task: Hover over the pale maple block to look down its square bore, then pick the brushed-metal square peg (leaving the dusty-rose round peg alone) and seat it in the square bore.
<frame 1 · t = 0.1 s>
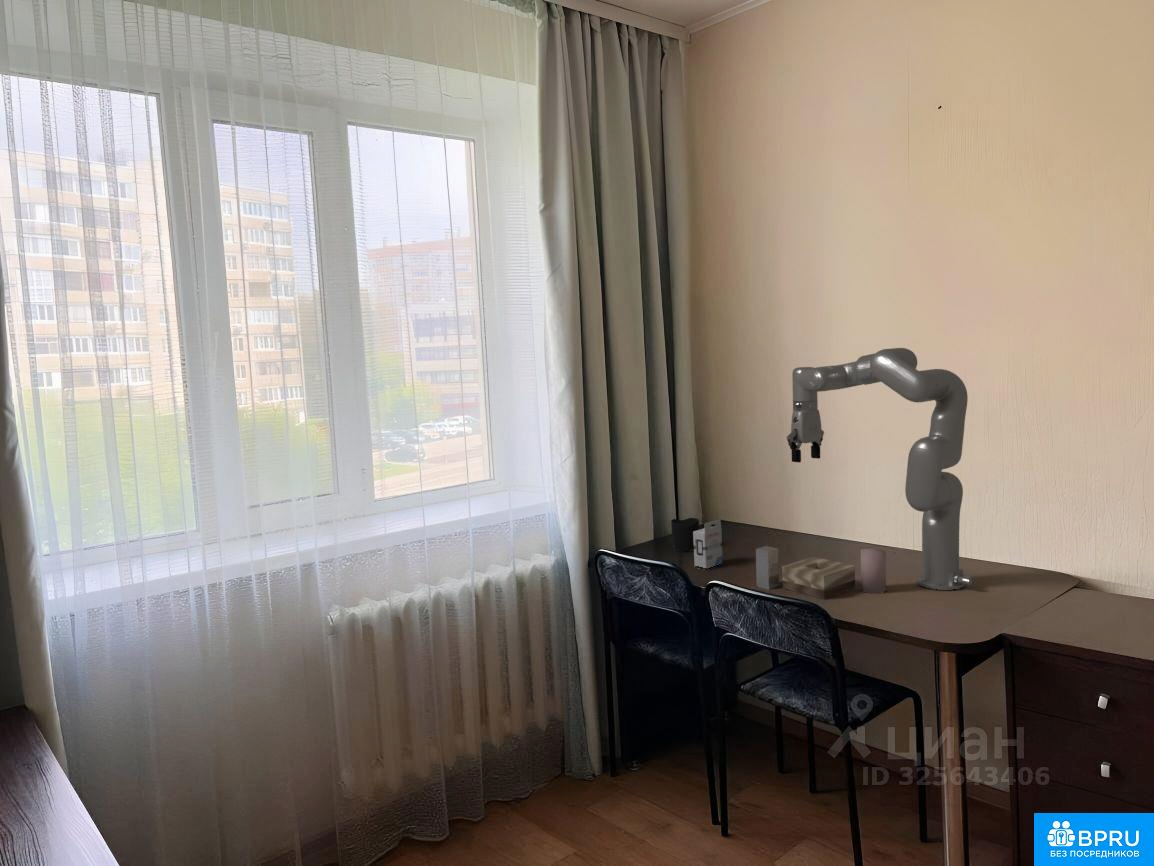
hand: (806, 460, 268), 31 cm above the table, tool pointing down, fingers open, 9 cm apart
bore block: (818, 588, 238), on the table
pen holder: (685, 549, 288), on the table
ink box: (708, 566, 266), on the table
round peg: (873, 590, 234), on the table
square peg: (767, 586, 242), on the table
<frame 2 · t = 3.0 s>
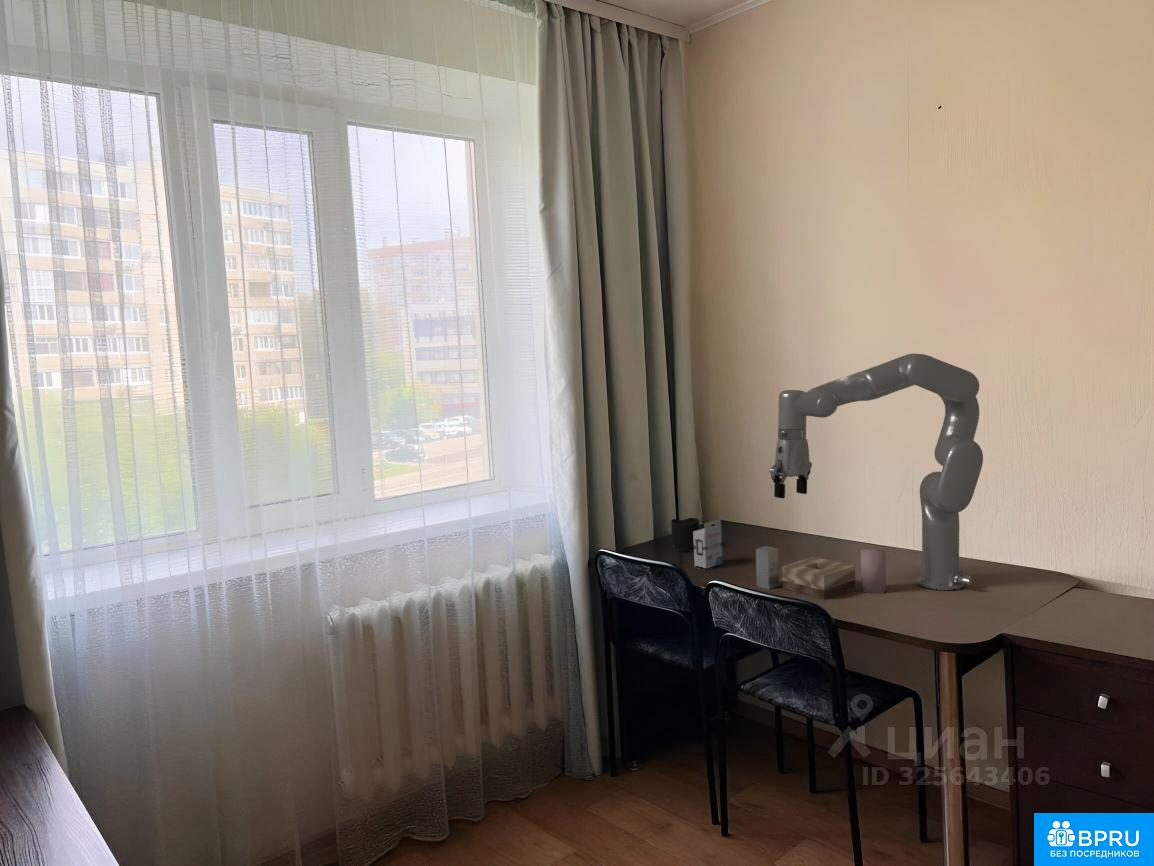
hand: (790, 495, 237), 27 cm above the table, tool pointing down, fingers open, 9 cm apart
nothing on the table moved.
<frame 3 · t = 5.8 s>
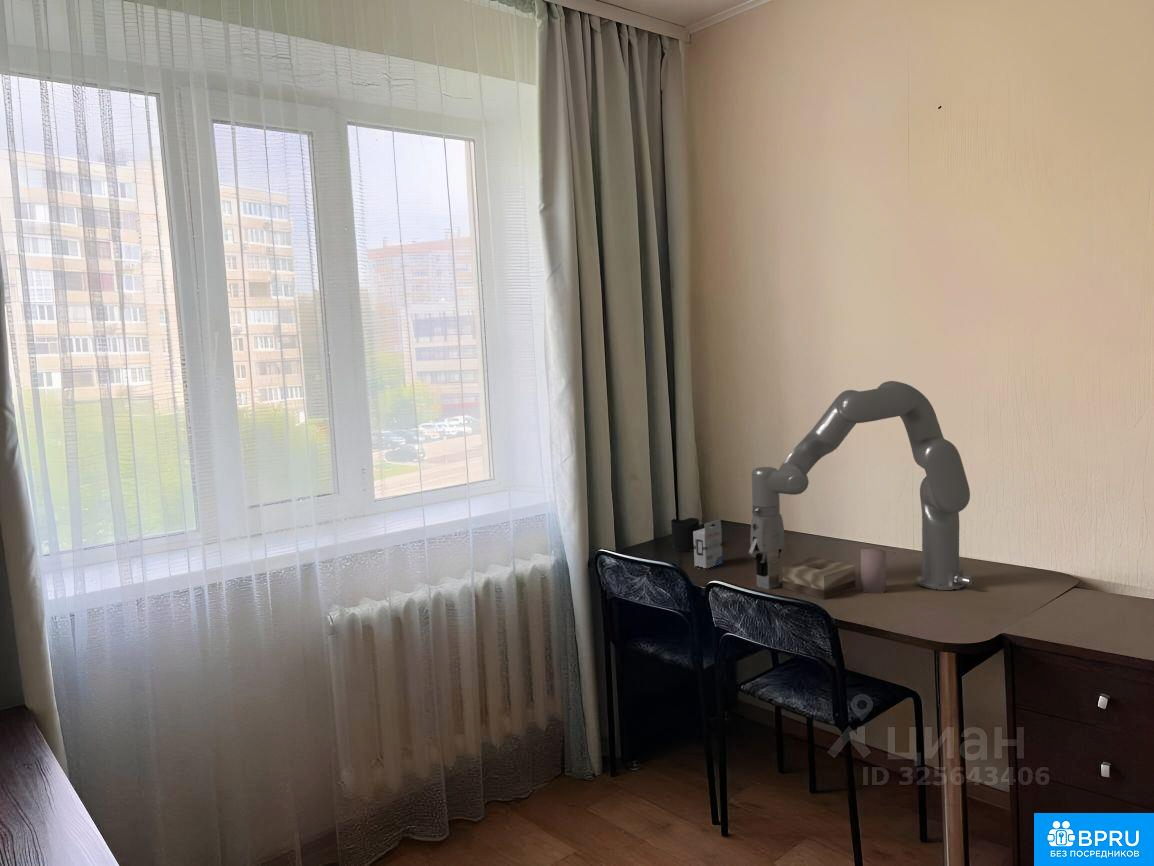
hand: (767, 573, 242), 4 cm above the table, tool pointing down, fingers closed on square peg, 4 cm apart
square peg: (767, 586, 242), on the table, touching gripper
everything else where it was.
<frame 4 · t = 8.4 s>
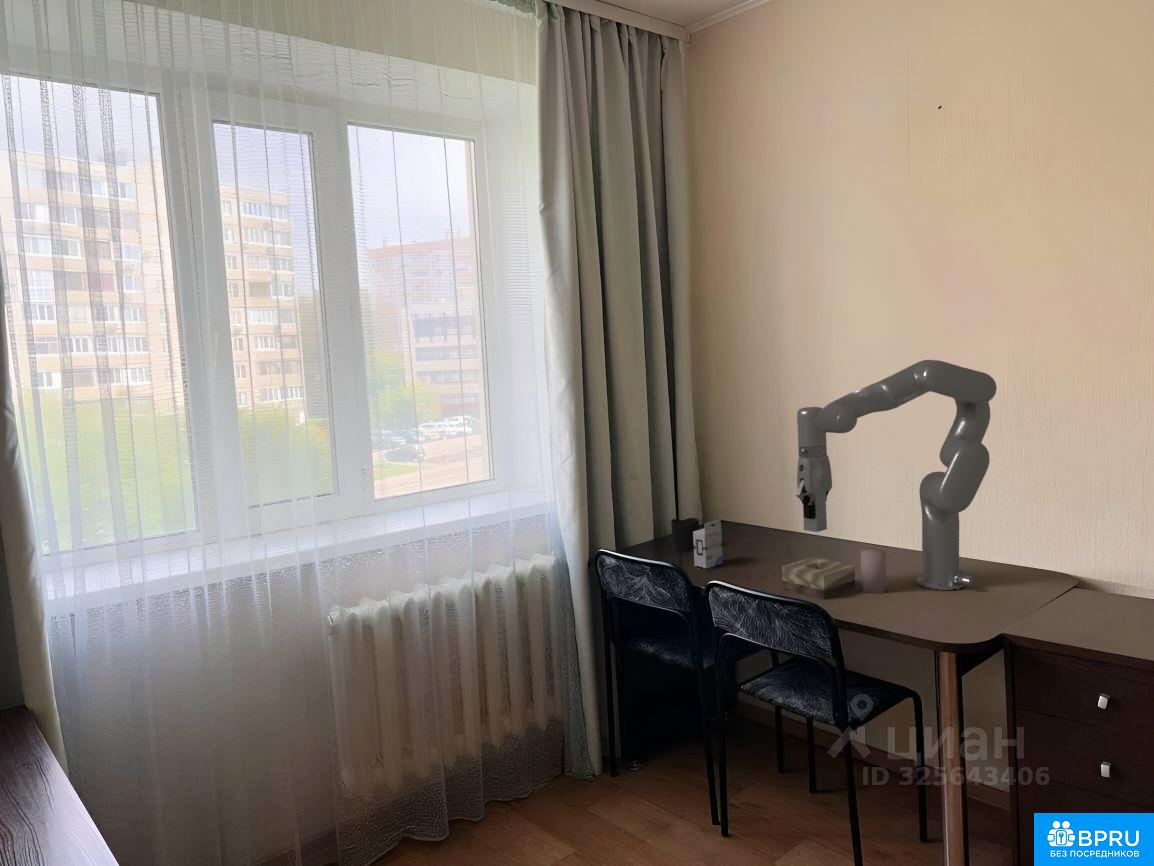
hand: (815, 516, 236), 21 cm above the table, tool pointing down, fingers closed on square peg, 4 cm apart
square peg: (815, 529, 236), point 17 cm above the table, touching gripper
everything else where it was.
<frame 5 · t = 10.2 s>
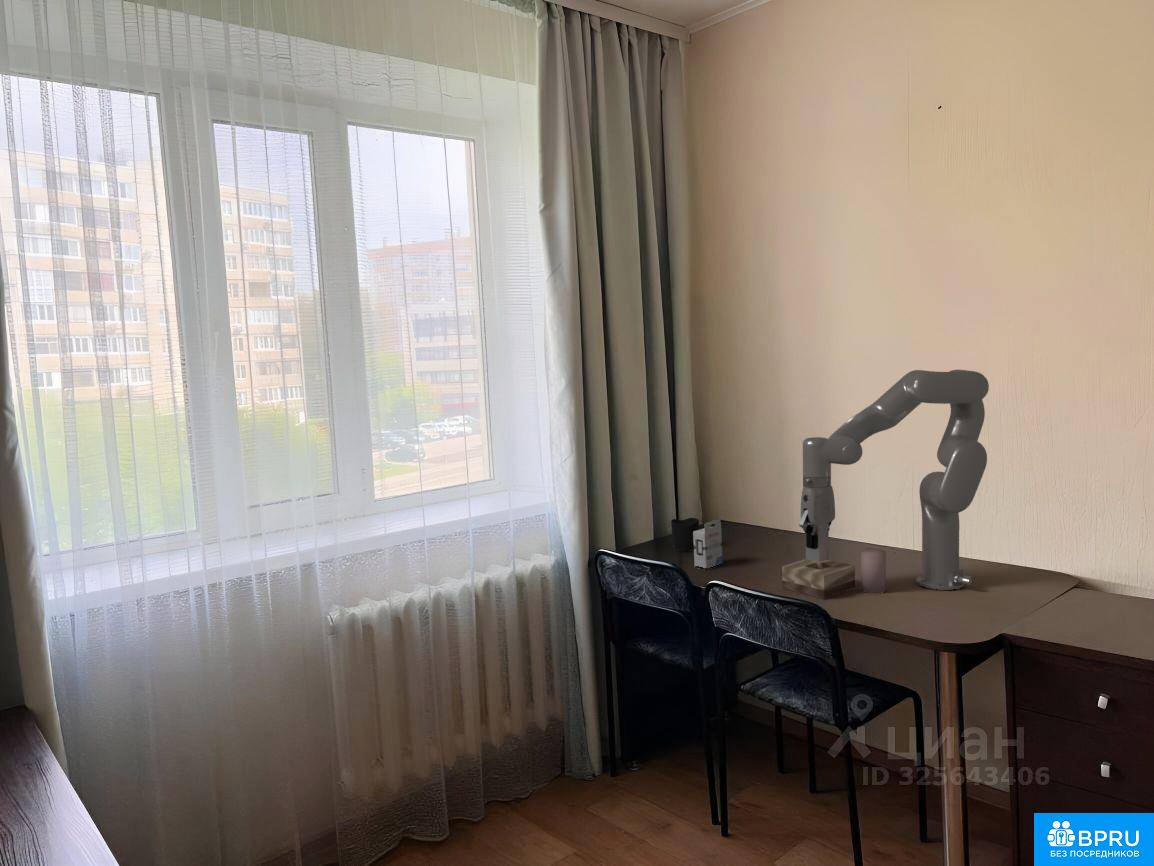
hand: (817, 545, 236), 12 cm above the table, tool pointing down, fingers closed on square peg, 4 cm apart
square peg: (817, 559, 237), point 8 cm above the table, touching gripper
everything else where it was.
when the fingers open (8 cm above the table, at t = 11.3 s): square peg drops 2 cm, resting on bore block.
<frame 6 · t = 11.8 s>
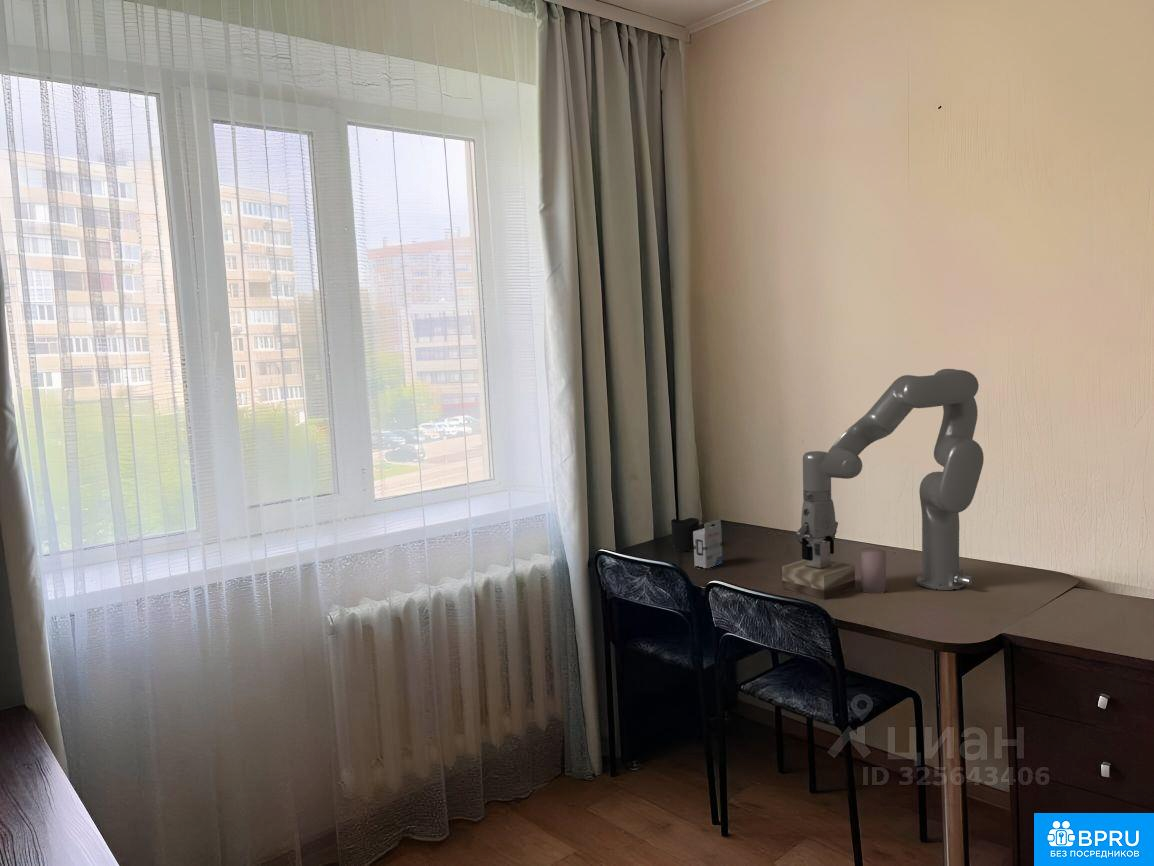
hand: (818, 556, 237), 9 cm above the table, tool pointing down, fingers open, 9 cm apart
square peg: (818, 579, 238), point 2 cm above the table, touching bore block
everything else where it was.
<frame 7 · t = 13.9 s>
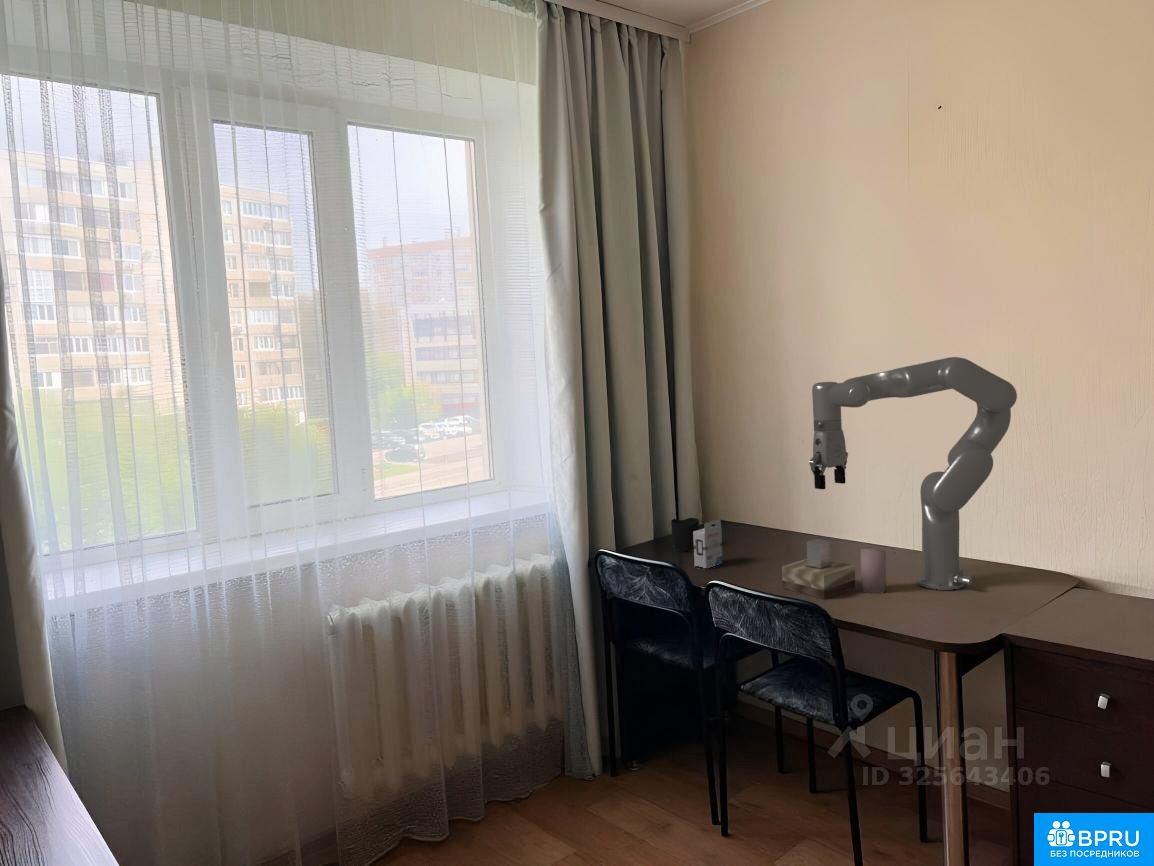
hand: (830, 485, 239), 28 cm above the table, tool pointing down, fingers open, 9 cm apart
nothing on the table moved.
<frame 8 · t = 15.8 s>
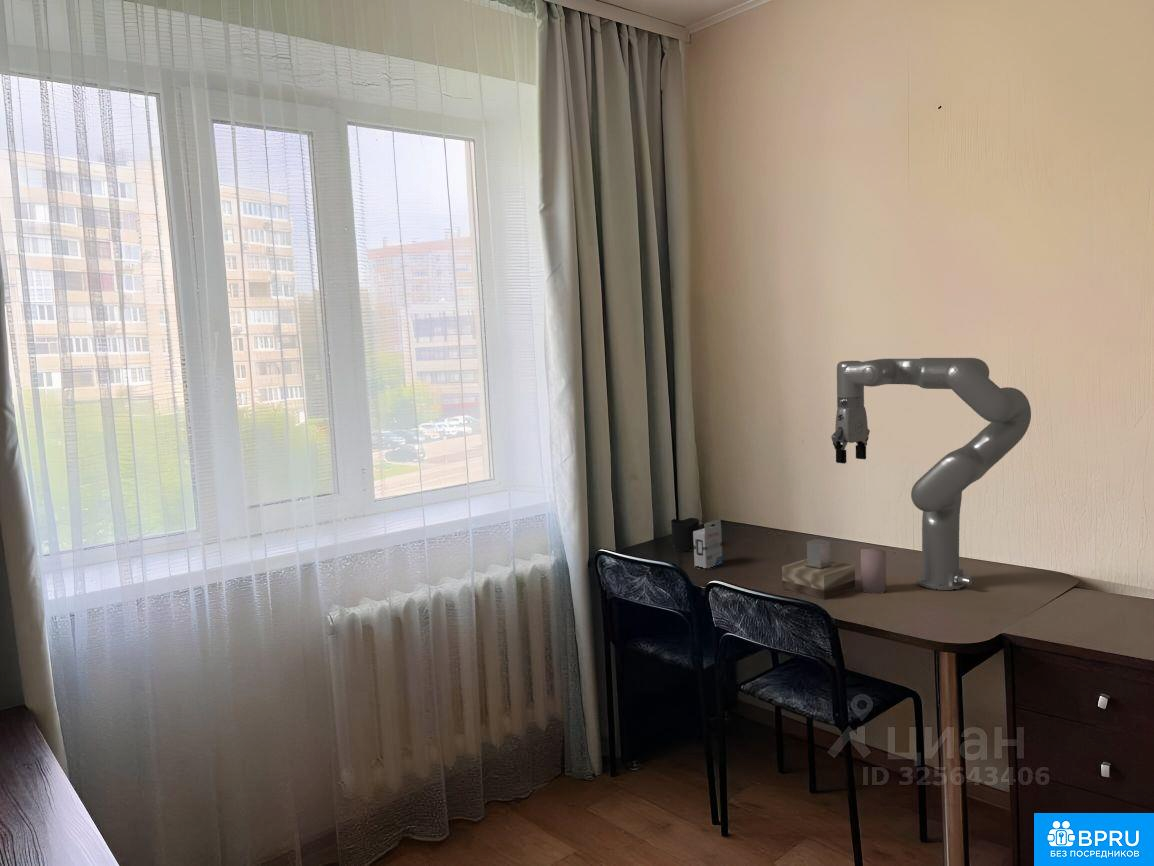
hand: (851, 460, 249), 33 cm above the table, tool pointing down, fingers open, 9 cm apart
nothing on the table moved.
at the end: square peg 0.1 cm off-centre on the bore block, point 2.5 cm above the bore block's base; square peg tilted 0°; round peg moved 0.0 cm from its start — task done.
